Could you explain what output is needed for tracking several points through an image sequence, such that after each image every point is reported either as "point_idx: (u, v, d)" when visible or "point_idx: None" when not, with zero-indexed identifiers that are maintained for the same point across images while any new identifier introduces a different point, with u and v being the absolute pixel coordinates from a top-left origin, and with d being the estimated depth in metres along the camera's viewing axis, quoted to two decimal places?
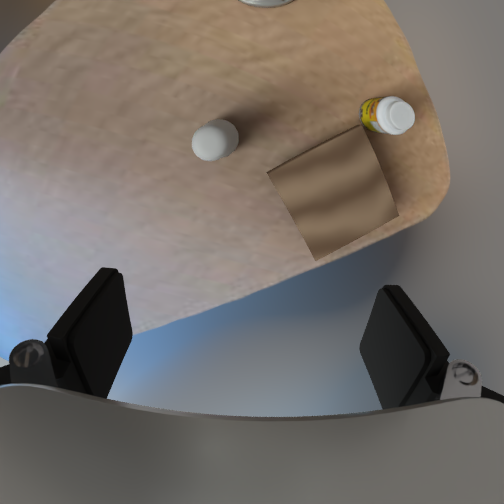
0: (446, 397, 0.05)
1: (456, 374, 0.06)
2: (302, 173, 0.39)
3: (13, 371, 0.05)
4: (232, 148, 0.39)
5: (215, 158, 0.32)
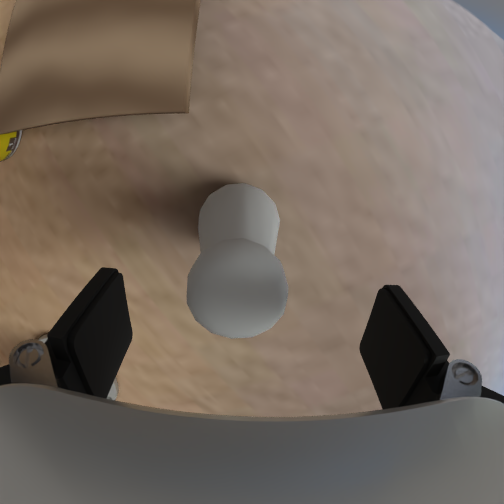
0: (446, 397, 0.05)
1: (456, 374, 0.06)
2: (118, 77, 0.13)
3: (13, 371, 0.05)
4: (222, 199, 0.18)
5: (249, 260, 0.11)
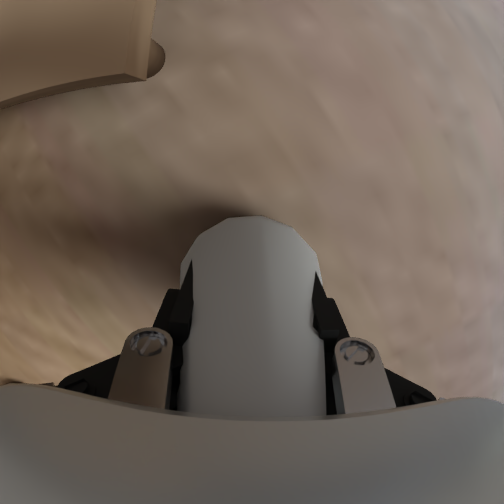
0: (348, 387, 0.06)
1: (347, 356, 0.07)
2: (16, 30, 0.04)
3: (137, 361, 0.06)
4: (218, 258, 0.09)
5: None
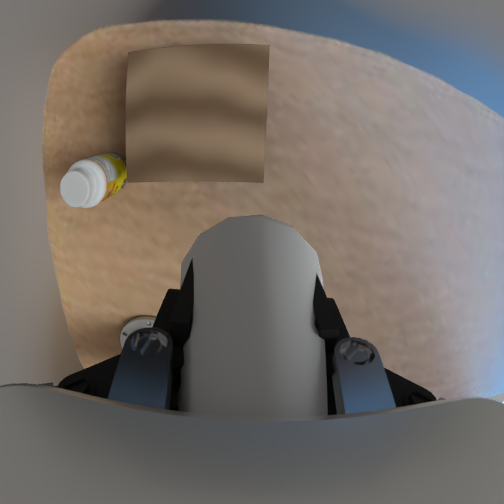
0: (347, 387, 0.06)
1: (347, 356, 0.07)
2: (224, 160, 0.30)
3: (137, 361, 0.06)
4: (219, 257, 0.09)
5: None
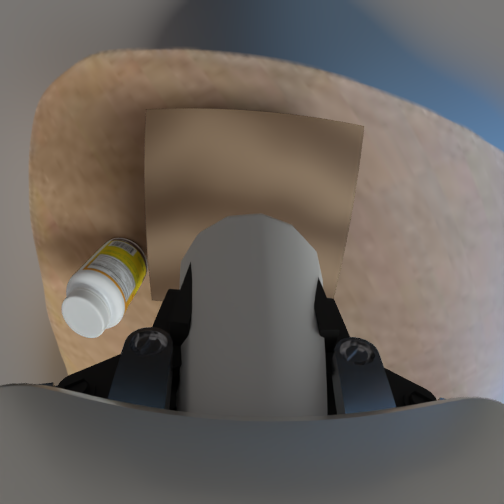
0: (347, 387, 0.06)
1: (347, 356, 0.07)
2: None
3: (137, 361, 0.06)
4: (218, 256, 0.09)
5: None
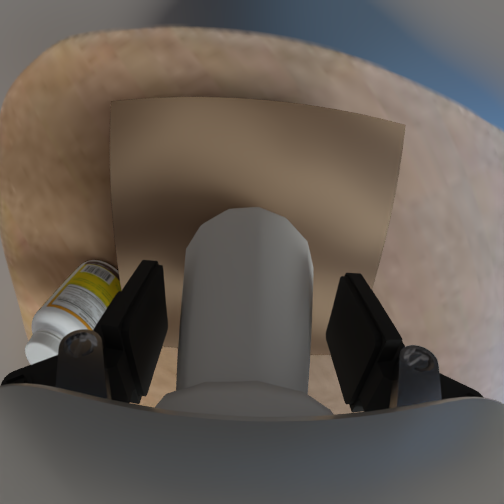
0: (404, 388, 0.06)
1: (409, 361, 0.06)
2: None
3: (66, 361, 0.05)
4: (219, 239, 0.10)
5: None
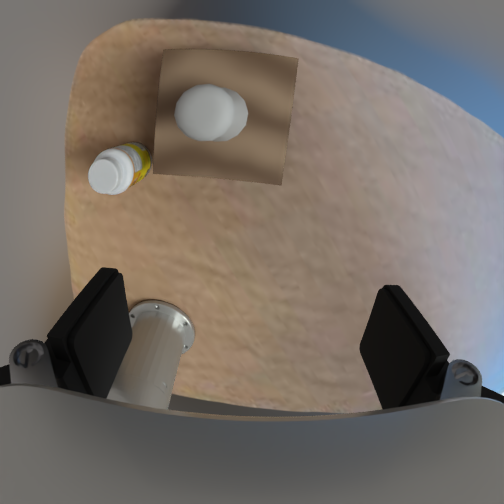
0: (446, 397, 0.05)
1: (456, 374, 0.06)
2: (247, 161, 0.32)
3: (13, 371, 0.05)
4: None
5: (211, 87, 0.18)
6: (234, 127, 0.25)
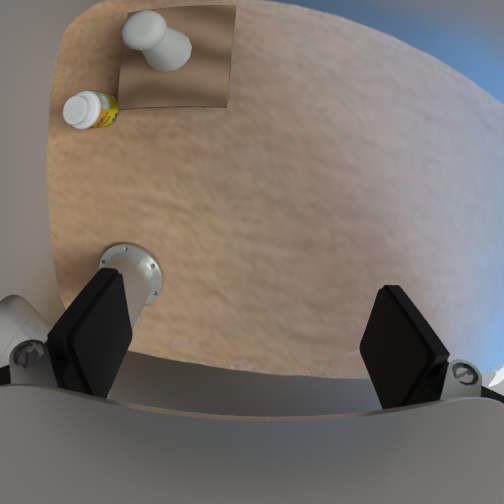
0: (446, 397, 0.05)
1: (456, 374, 0.06)
2: (195, 89, 0.33)
3: (13, 371, 0.05)
4: None
5: (147, 11, 0.19)
6: (175, 51, 0.26)
